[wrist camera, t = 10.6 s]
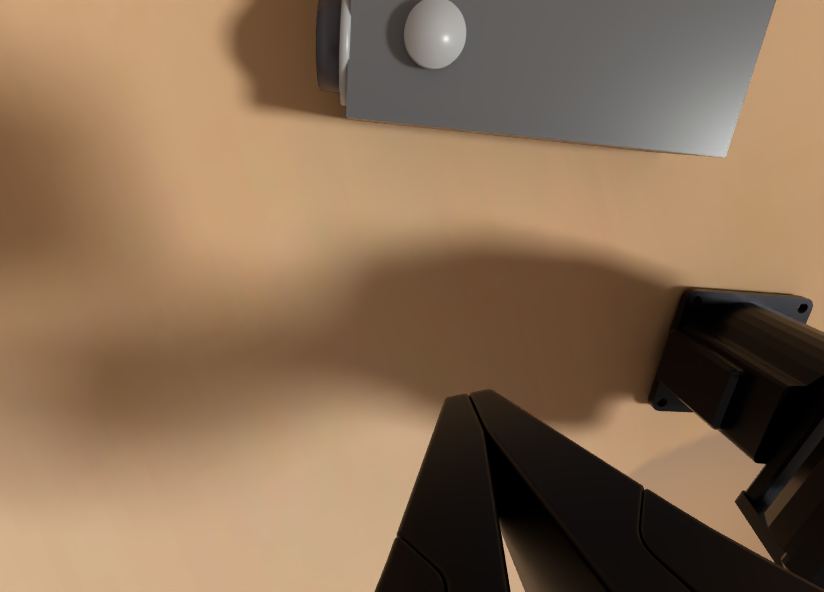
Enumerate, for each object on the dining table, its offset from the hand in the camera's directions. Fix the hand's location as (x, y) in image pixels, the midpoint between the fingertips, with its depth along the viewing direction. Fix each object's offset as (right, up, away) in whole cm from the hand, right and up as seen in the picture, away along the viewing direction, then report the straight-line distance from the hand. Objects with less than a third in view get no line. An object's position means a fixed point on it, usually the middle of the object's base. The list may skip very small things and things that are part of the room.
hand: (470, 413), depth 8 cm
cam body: (+3, +12, +9) cm, 15 cm away
